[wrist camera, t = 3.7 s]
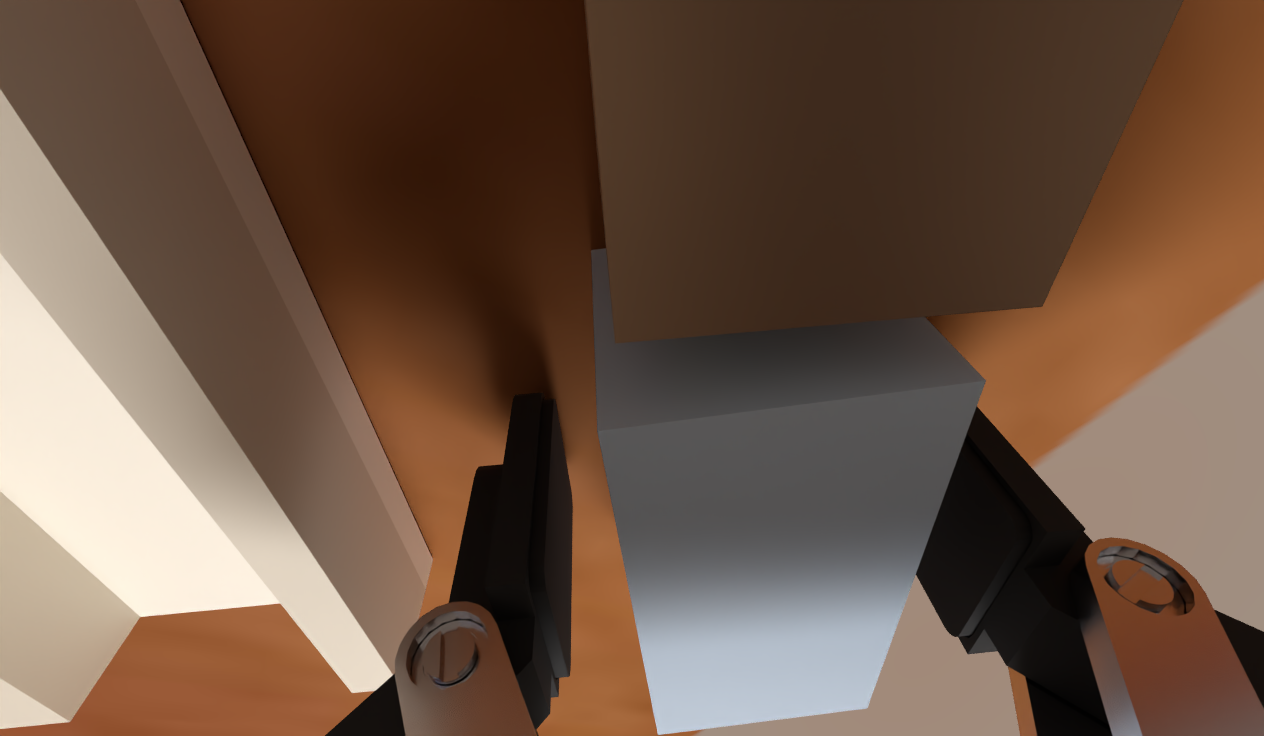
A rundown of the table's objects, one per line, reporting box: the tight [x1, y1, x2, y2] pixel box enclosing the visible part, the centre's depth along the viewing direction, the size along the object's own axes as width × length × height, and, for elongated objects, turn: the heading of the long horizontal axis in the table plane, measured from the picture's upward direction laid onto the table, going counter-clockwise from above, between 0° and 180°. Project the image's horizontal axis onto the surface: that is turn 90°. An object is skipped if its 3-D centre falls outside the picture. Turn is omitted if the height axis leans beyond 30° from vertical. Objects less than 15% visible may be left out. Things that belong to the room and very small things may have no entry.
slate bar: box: [591, 248, 986, 735], centre depth 10 cm, size 4×8×4 cm, turn 6°
